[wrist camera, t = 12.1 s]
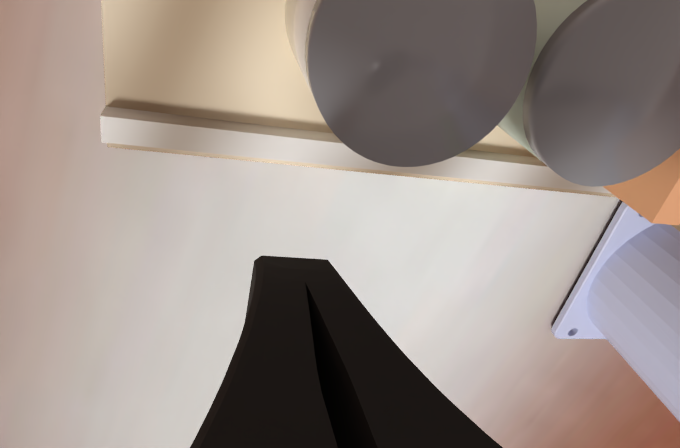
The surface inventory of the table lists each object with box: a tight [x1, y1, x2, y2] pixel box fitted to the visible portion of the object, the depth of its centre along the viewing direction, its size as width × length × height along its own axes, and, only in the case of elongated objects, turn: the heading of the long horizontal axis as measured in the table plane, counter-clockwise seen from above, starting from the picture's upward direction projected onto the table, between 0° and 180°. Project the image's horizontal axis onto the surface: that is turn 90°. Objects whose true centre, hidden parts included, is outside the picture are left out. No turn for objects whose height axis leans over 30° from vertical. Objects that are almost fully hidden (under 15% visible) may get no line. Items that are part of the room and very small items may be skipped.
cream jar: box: [285, 0, 537, 167], centre depth 12 cm, size 5×5×5 cm
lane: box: [100, 0, 680, 231], centre depth 13 cm, size 20×10×6 cm, turn 79°
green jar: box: [497, 0, 680, 187], centre depth 14 cm, size 5×5×5 cm
